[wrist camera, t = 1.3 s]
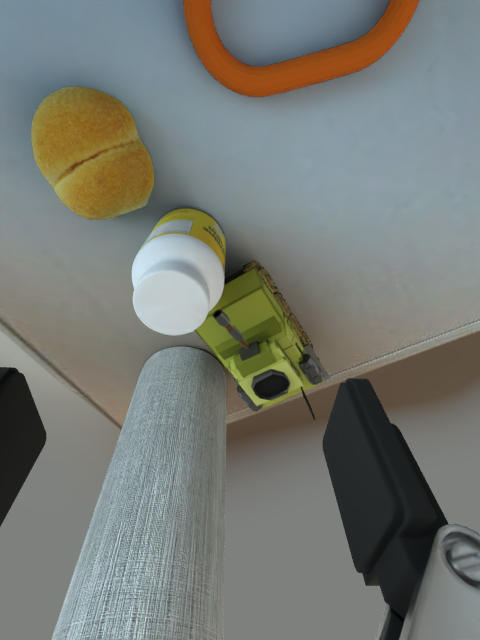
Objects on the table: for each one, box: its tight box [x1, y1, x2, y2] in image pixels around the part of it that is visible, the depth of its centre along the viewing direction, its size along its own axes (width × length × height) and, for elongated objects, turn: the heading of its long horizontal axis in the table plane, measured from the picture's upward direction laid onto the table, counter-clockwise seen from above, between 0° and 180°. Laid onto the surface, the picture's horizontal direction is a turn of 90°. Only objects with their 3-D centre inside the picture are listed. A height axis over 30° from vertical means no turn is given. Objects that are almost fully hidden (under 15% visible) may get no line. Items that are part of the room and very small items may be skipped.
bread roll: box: [31, 86, 155, 220], centre depth 25 cm, size 8×9×4 cm
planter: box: [52, 347, 227, 640], centre depth 28 cm, size 10×10×27 cm
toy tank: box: [195, 260, 330, 420], centre depth 31 cm, size 8×15×10 cm, turn 31°
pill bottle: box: [132, 207, 226, 335], centre depth 25 cm, size 6×6×12 cm
